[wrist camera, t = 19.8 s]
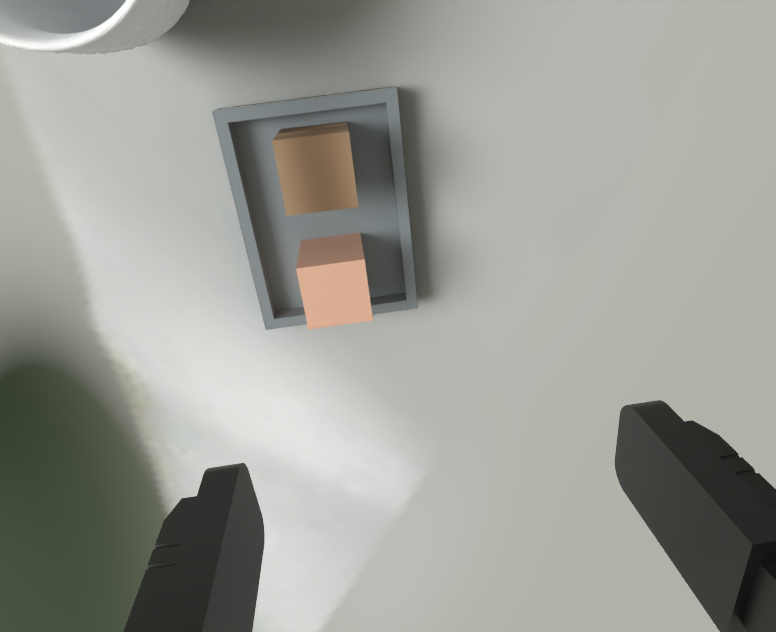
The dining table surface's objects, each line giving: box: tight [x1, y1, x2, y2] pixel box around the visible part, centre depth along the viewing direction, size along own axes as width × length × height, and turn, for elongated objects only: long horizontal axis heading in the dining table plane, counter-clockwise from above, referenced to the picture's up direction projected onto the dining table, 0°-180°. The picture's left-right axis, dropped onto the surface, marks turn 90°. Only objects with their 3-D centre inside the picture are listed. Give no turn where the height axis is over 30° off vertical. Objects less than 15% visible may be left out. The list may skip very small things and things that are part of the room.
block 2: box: [296, 233, 373, 329], centre depth 37 cm, size 4×4×6 cm
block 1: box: [272, 121, 359, 216], centre depth 34 cm, size 4×4×6 cm
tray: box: [212, 87, 418, 330], centre depth 38 cm, size 16×12×2 cm
